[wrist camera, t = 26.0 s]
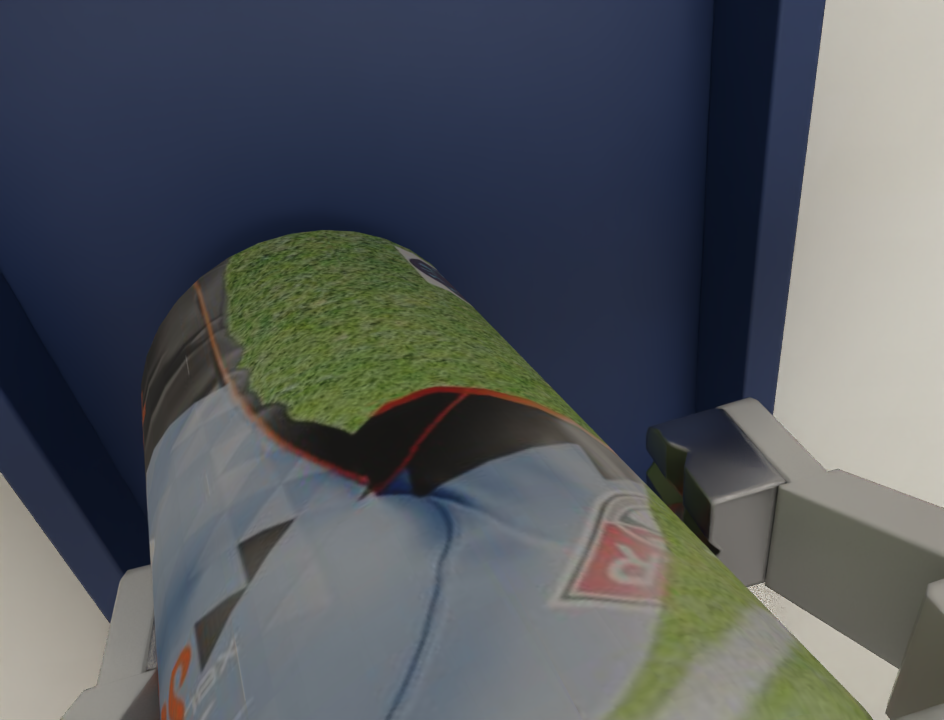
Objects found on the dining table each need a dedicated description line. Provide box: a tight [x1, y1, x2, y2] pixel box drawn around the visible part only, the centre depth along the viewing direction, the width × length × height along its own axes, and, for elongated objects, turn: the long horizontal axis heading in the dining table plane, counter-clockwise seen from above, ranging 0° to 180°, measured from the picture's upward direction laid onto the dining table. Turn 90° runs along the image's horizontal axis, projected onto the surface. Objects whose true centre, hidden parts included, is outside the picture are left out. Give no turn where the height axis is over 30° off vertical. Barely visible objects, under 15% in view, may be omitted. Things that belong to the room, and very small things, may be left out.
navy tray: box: [0, 0, 826, 623], centre depth 14 cm, size 18×15×2 cm
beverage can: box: [141, 230, 873, 720], centre depth 9 cm, size 6×7×12 cm
